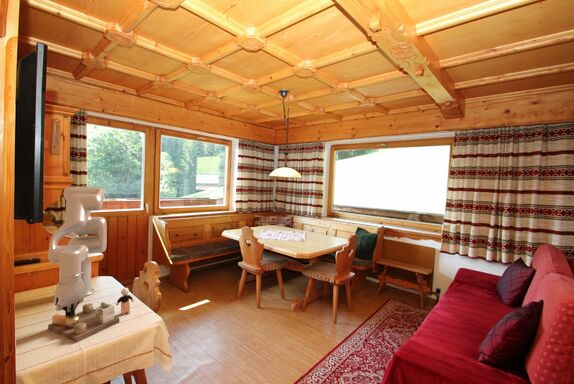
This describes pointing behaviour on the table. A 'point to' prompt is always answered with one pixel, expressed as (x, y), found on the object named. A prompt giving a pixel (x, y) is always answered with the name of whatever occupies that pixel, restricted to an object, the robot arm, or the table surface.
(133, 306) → the table surface
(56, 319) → the orange lever bar
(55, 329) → the base
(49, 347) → the table surface
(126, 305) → the grandmother figurine
